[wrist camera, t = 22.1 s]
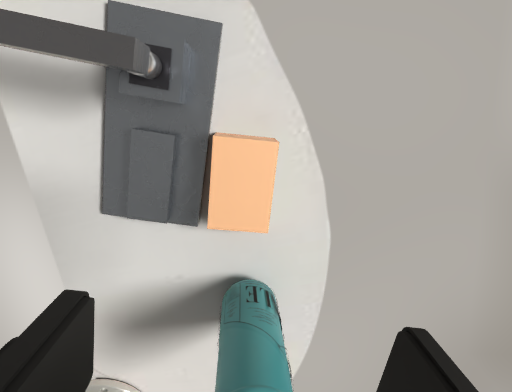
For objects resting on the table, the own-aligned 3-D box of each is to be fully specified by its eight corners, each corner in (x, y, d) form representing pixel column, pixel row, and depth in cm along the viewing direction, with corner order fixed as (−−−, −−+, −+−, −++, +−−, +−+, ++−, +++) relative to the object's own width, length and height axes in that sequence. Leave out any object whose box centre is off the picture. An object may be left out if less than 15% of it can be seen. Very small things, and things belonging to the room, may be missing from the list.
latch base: (198, 224, 32) (192, 241, 28) (104, 211, 32) (84, 227, 27) (222, 24, 27) (219, 9, 23) (110, 2, 26) (86, -18, 22)
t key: (17, 52, 23) (-66, 31, 17) (17, 24, 22) (-70, -8, 16) (160, 81, 24) (132, 71, 18) (163, 54, 23) (135, 35, 17)
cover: (264, 218, 33) (267, 233, 29) (211, 214, 33) (207, 228, 29) (274, 138, 31) (279, 142, 27) (216, 132, 30) (213, 135, 26)
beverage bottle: (220, 315, 36) (198, 550, 17) (222, 267, 34) (200, 470, 15) (273, 317, 37) (309, 546, 17) (278, 270, 35) (325, 469, 16)
